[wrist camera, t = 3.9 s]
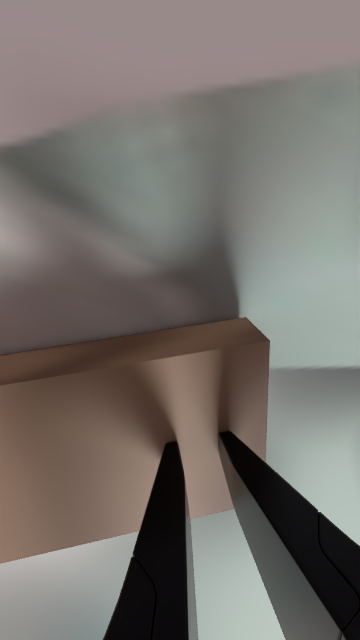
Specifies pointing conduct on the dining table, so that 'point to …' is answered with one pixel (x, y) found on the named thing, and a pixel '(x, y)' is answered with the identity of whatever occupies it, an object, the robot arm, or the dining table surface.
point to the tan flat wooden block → (122, 429)
